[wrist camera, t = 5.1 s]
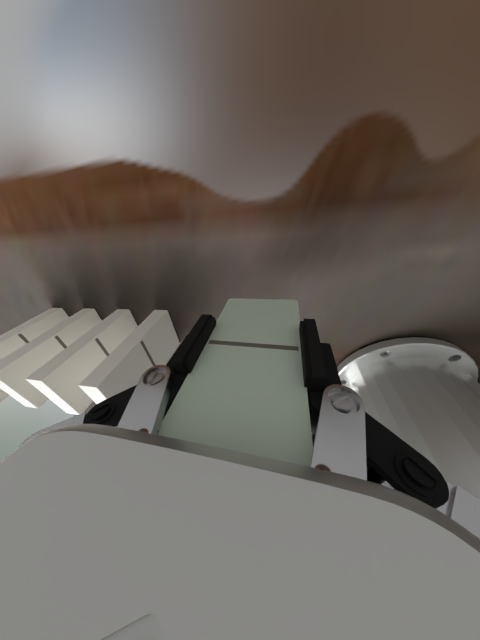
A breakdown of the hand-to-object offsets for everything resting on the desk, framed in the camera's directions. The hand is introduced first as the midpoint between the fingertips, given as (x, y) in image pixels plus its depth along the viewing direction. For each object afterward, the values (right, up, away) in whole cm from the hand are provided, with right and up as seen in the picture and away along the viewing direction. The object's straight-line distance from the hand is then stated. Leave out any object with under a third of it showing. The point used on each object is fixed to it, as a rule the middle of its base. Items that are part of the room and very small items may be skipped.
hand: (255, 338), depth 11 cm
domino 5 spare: (+1, +2, +3) cm, 4 cm away
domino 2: (-20, +1, +13) cm, 24 cm away
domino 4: (-10, 0, +11) cm, 15 cm away
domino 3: (-15, 0, +12) cm, 19 cm away
